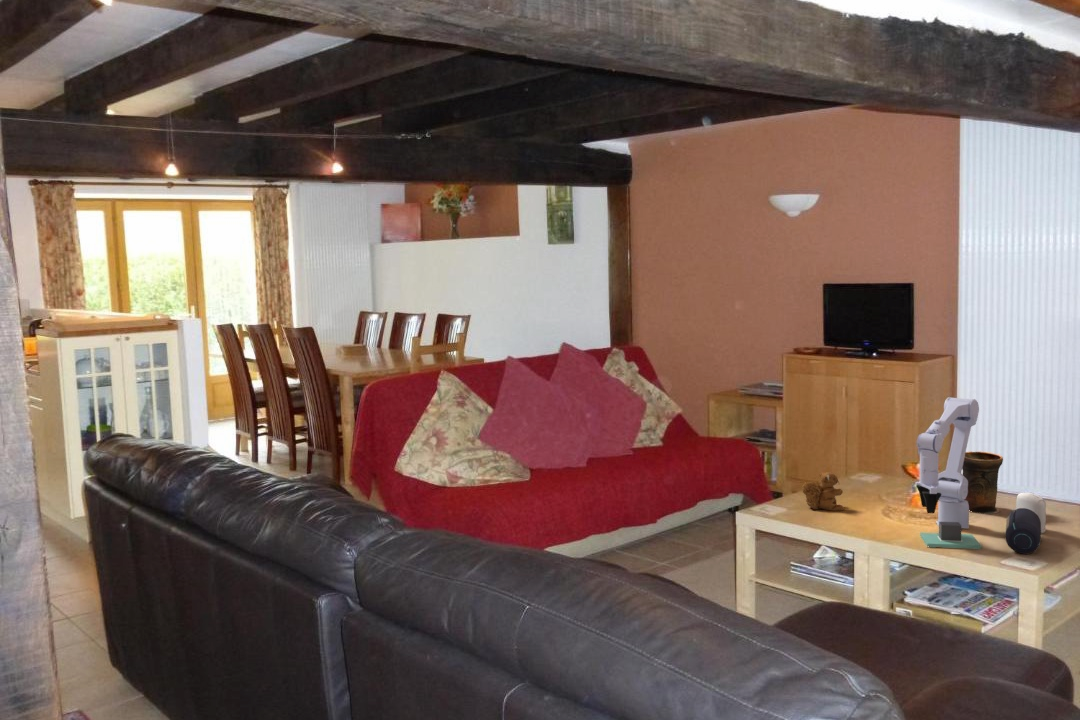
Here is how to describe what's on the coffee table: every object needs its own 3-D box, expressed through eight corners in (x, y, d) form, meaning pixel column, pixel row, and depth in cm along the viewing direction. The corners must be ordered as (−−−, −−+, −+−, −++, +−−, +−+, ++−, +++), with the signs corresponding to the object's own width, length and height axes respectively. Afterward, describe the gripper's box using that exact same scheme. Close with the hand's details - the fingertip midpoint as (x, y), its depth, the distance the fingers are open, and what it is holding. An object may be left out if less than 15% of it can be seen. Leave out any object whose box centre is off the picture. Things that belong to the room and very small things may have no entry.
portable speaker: (1006, 533, 314) (1007, 503, 313) (1040, 536, 309) (1041, 506, 308) (1004, 554, 292) (1005, 523, 291) (1040, 559, 287) (1041, 527, 286)
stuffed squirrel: (846, 510, 345) (846, 475, 343) (807, 511, 345) (807, 476, 343) (837, 503, 355) (837, 469, 353) (799, 504, 354) (799, 470, 353)
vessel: (990, 502, 350) (992, 450, 348) (1008, 514, 336) (1010, 459, 333) (951, 503, 351) (952, 451, 348) (967, 515, 336) (969, 460, 334)
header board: (971, 537, 309) (972, 526, 309) (981, 549, 297) (981, 537, 297) (920, 536, 312) (920, 525, 312) (927, 547, 301) (927, 535, 300)
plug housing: (958, 537, 306) (958, 522, 305) (961, 540, 302) (961, 525, 302) (938, 536, 307) (938, 521, 307) (941, 540, 303) (941, 525, 303)
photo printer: (1013, 526, 321) (1014, 490, 320) (1024, 524, 322) (1025, 489, 321) (1036, 534, 311) (1037, 497, 310) (1047, 533, 312) (1048, 496, 311)
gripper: (911, 464, 318) (910, 503, 319) (920, 474, 303) (920, 515, 305) (933, 464, 316) (932, 504, 318) (944, 474, 302) (943, 516, 304)
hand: (928, 509), depth 311 cm, fingers open, 7 cm apart
